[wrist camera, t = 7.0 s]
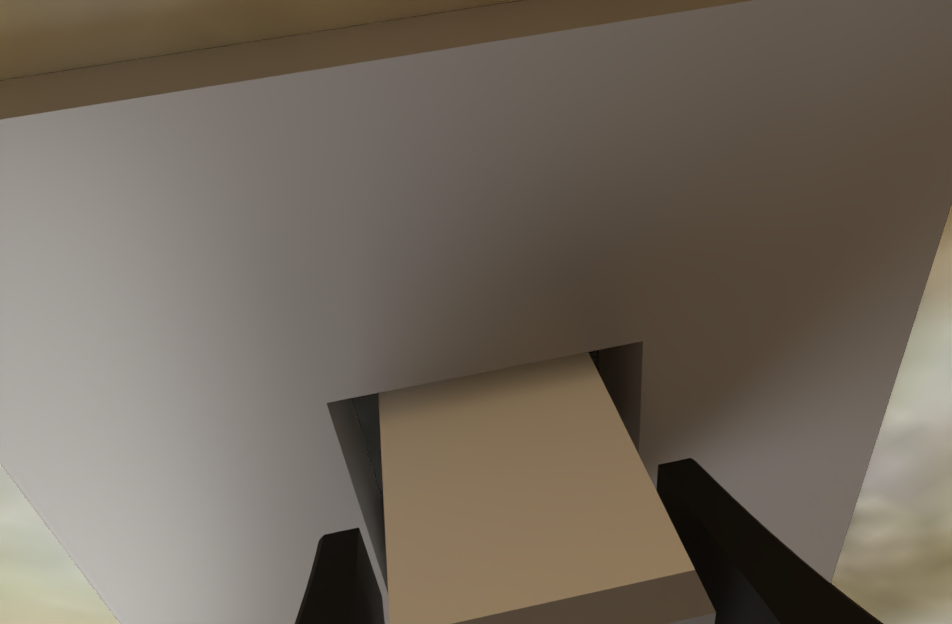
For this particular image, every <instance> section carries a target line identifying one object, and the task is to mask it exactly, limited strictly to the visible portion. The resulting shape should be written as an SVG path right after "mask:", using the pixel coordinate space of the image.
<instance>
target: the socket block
mask: <svg viewBox="0 0 952 624" xmlns="http://www.w3.org/2000/svg"><path fill="white" fill-rule="evenodd" d="M951 204H952V0H521V1H515V2H508V3H502V4H495V5H489V6H482V7H476V8H469V9H463V10H457V11H450V12H444V13H437V14H431V15H424V16H418V17H411V18H405V19H398V20H392V21H385V22H379V23H372V24H366V25H359V26H353V27H346V28H340V29H333V30H327V31H320V32H314V33H307V34H301V35H294V36H288V37H281V38H275V39H268V40H262V41H255V42H249V43H242V44H236V45H229V46H223V47H216V48H210V49H203V50H197V51H190V52H184V53H177V54H171V55H164V56H158V57H151V58H145V59H139V60H132V61H126V62H119V63H113V64H106V65H100V66H93V67H87V68H80V69H74V70H67V71H61V72H54V73H48V74H41V75H35V76H28V77H22V78H15V79H9V80H2V81H0V464H1V466H2V467H3V468H4V470H5V471H6V472H7V474H8V475H9V476H10V478H11V479H12V480H13V482H14V483H15V484H16V486H17V487H18V488H19V490H20V491H21V492H22V494H23V495H24V496H25V498H26V499H27V500H28V502H29V503H30V504H31V506H32V507H33V508H34V510H35V511H36V512H37V514H38V515H39V516H40V518H41V519H42V520H43V522H44V523H45V524H46V526H47V527H48V529H49V530H50V531H51V533H52V534H53V535H54V537H55V538H56V539H57V541H58V542H59V543H60V545H61V546H62V547H63V549H64V550H65V551H66V553H67V554H68V555H69V557H70V558H71V559H72V561H73V562H74V563H75V565H76V566H77V567H78V569H79V570H80V571H81V573H82V574H83V575H84V577H85V578H86V579H87V581H88V582H89V583H90V585H91V586H92V587H93V589H94V590H95V591H96V593H97V594H98V595H99V597H100V598H101V599H102V601H103V602H104V603H105V605H106V606H107V607H108V609H109V610H110V611H111V613H112V614H113V615H114V617H115V618H116V619H117V621H118V622H119V623H120V624H295V621H296V618H297V615H298V612H299V609H300V606H301V603H302V600H303V597H304V593H305V590H306V587H307V584H308V580H309V577H310V573H311V570H312V566H313V562H314V558H315V555H316V550H317V546H318V542H319V540H320V539H321V537H322V536H323V535H325V534H330V533H335V532H339V531H344V530H349V529H354V528H358V527H359V529H360V532H361V535H362V538H363V541H364V544H365V547H366V550H367V553H368V556H369V559H370V562H371V565H372V568H373V571H374V574H375V577H376V580H377V583H378V586H379V589H380V592H381V595H382V600H383V611H384V621H385V624H390V620H389V600H388V580H387V559H386V539H385V519H384V503H383V502H382V499H381V495H380V492H379V488H378V485H377V482H376V478H375V475H374V471H373V468H372V464H371V461H370V458H369V454H368V451H367V447H366V444H365V440H364V437H363V434H362V430H361V427H360V423H359V420H358V416H357V413H356V410H355V406H354V403H353V399H352V398H354V397H359V396H365V395H370V394H375V393H380V392H385V391H390V390H395V389H400V388H406V387H411V386H416V385H421V384H426V383H431V382H436V381H441V380H447V379H452V378H457V377H462V376H467V375H472V374H477V373H482V372H488V371H493V370H498V369H503V368H508V367H513V366H518V365H523V364H529V363H534V362H539V361H544V360H549V359H554V358H559V357H564V356H570V355H575V354H580V353H585V352H590V351H595V350H599V375H600V377H601V379H602V381H603V383H604V385H605V387H606V389H607V391H608V393H609V395H610V397H611V399H612V401H613V403H614V405H615V407H616V409H617V411H618V413H619V416H620V418H621V420H622V422H623V424H624V426H625V428H626V430H627V432H628V434H629V436H630V438H631V440H632V442H633V444H634V446H635V448H636V450H637V452H638V454H639V456H640V458H641V460H642V462H643V464H644V467H645V469H646V471H647V473H648V475H649V477H650V479H651V481H652V483H653V485H654V487H655V489H657V473H658V465H659V464H664V463H668V462H673V461H678V460H683V459H687V458H692V459H694V460H695V461H696V462H697V463H698V464H699V465H700V466H701V467H702V468H703V469H704V470H706V471H707V472H708V473H709V474H710V475H711V476H712V477H713V478H714V479H715V480H716V481H717V482H718V483H719V484H720V485H721V486H722V487H723V488H724V489H725V490H726V491H727V492H728V493H729V494H730V495H731V496H732V497H733V498H734V499H735V500H736V501H737V502H739V503H740V504H741V505H742V506H743V507H744V508H745V509H746V510H747V511H748V512H749V513H750V514H751V515H752V516H753V517H755V518H756V519H757V520H758V521H759V522H760V523H761V524H762V525H763V526H764V527H766V528H767V529H768V530H769V531H770V532H771V533H772V534H773V535H775V536H776V537H777V538H778V539H779V540H780V541H781V542H783V543H784V544H785V545H786V546H787V547H788V548H789V549H791V550H792V551H793V552H794V553H795V554H796V555H797V556H799V557H800V558H801V559H802V560H803V561H804V562H806V563H807V564H808V565H809V566H810V567H812V568H813V569H814V570H815V571H816V572H818V573H819V574H820V575H821V576H822V577H824V578H825V579H826V580H827V581H829V582H830V583H831V580H832V577H833V574H834V571H835V568H836V565H837V562H838V559H839V555H840V552H841V549H842V546H843V543H844V540H845V537H846V533H847V530H848V527H849V524H850V521H851V518H852V515H853V512H854V508H855V505H856V502H857V499H858V496H859V493H860V490H861V486H862V483H863V480H864V477H865V474H866V471H867V468H868V464H869V461H870V458H871V455H872V452H873V449H874V446H875V443H876V439H877V436H878V433H879V430H880V427H881V424H882V421H883V417H884V414H885V411H886V408H887V405H888V402H889V399H890V396H891V392H892V389H893V386H894V383H895V380H896V377H897V374H898V370H899V367H900V364H901V361H902V358H903V355H904V352H905V349H906V345H907V342H908V339H909V336H910V333H911V330H912V327H913V323H914V320H915V317H916V314H917V311H918V308H919V305H920V301H921V298H922V295H923V292H924V289H925V286H926V283H927V280H928V276H929V273H930V270H931V267H932V264H933V261H934V258H935V254H936V251H937V248H938V245H939V242H940V239H941V236H942V233H943V229H944V226H945V223H946V220H947V217H948V214H949V211H950V207H951Z"/></svg>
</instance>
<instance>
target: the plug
mask: <svg viewBox="0 0 952 624" xmlns="http://www.w3.org/2000/svg"><path fill="white" fill-rule="evenodd" d="M378 396H379V417H380V437H381V458H382V478H383V498H384V519H385V539H386V559H387V580H388V600H389V620H390V624H715V617H716V611H715V609H714V607H713V605H712V603H711V601H710V599H709V597H708V595H707V593H706V591H705V589H704V587H703V585H702V583H701V581H700V579H699V577H698V575H697V573H696V571H695V569H694V566H693V564H692V562H691V560H690V558H689V556H688V554H687V552H686V550H685V548H684V546H683V544H682V542H681V540H680V538H679V536H678V534H677V532H676V530H675V528H674V526H673V524H672V522H671V520H670V518H669V515H668V513H667V511H666V509H665V507H664V505H663V503H662V501H661V499H660V497H659V495H658V493H657V491H656V489H655V487H654V485H653V483H652V481H651V479H650V477H649V475H648V473H647V471H646V469H645V467H644V464H643V462H642V460H641V458H640V456H639V454H638V452H637V450H636V448H635V446H634V444H633V442H632V440H631V438H630V436H629V434H628V432H627V430H626V428H625V426H624V424H623V422H622V420H621V418H620V416H619V413H618V411H617V409H616V407H615V405H614V403H613V401H612V399H611V397H610V395H609V393H608V391H607V389H606V387H605V385H604V383H603V381H602V379H601V377H600V375H599V373H598V371H597V369H596V367H595V365H594V362H593V360H592V358H591V356H590V354H589V352H585V353H580V354H575V355H570V356H564V357H559V358H554V359H549V360H544V361H539V362H534V363H529V364H523V365H518V366H513V367H508V368H503V369H498V370H493V371H488V372H482V373H477V374H472V375H467V376H462V377H457V378H452V379H447V380H441V381H436V382H431V383H426V384H421V385H416V386H411V387H406V388H400V389H395V390H390V391H385V392H380V393H378Z"/></svg>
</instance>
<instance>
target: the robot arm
mask: <svg viewBox="0 0 952 624" xmlns="http://www.w3.org/2000/svg"><path fill="white" fill-rule="evenodd" d="M656 491H657V493H658V495H659V497H660V499H661V501H662V503H663V505H664V507H665V509H666V511H667V513H668V515H669V518H670V520H671V522H672V524H673V526H674V528H675V530H676V532H677V534H678V536H679V538H680V540H681V542H682V544H683V546H684V548H685V550H686V552H687V554H688V556H689V558H690V560H691V562H692V564H693V566H694V569H695V571H696V573H697V575H698V577H699V579H700V581H701V583H702V585H703V587H704V589H705V591H706V593H707V595H708V597H709V599H710V601H711V603H712V605H713V607H714V609H715V611H716V617H715V624H883V623H882V622H880V621H879V620H878V619H876V618H875V617H874V616H872V615H871V614H869V613H868V612H867V611H866V610H864V609H863V608H862V607H860V606H859V605H858V604H856V603H855V602H854V601H852V600H851V599H850V598H849V597H847V596H846V595H845V594H844V593H842V592H841V591H840V590H839V589H837V588H836V587H835V586H834V585H832V584H831V583H830V582H829V581H827V580H826V579H825V578H824V577H822V576H821V575H820V574H819V573H818V572H816V571H815V570H814V569H813V568H812V567H810V566H809V565H808V564H807V563H806V562H804V561H803V560H802V559H801V558H800V557H799V556H797V555H796V554H795V553H794V552H793V551H792V550H791V549H789V548H788V547H787V546H786V545H785V544H784V543H783V542H781V541H780V540H779V539H778V538H777V537H776V536H775V535H773V534H772V533H771V532H770V531H769V530H768V529H767V528H766V527H764V526H763V525H762V524H761V523H760V522H759V521H758V520H757V519H756V518H755V517H753V516H752V515H751V514H750V513H749V512H748V511H747V510H746V509H745V508H744V507H743V506H742V505H741V504H740V503H739V502H737V501H736V500H735V499H734V498H733V497H732V496H731V495H730V494H729V493H728V492H727V491H726V490H725V489H724V488H723V487H722V486H721V485H720V484H719V483H718V482H717V481H716V480H715V479H714V478H713V477H712V476H711V475H710V474H709V473H708V472H707V471H706V470H704V469H703V468H702V467H701V466H700V465H699V464H698V463H697V462H696V461H695V460H694V459H692V458H687V459H683V460H678V461H673V462H668V463H664V464H659V465H658V473H657V489H656ZM295 624H385V621H384V611H383V600H382V595H381V592H380V589H379V586H378V583H377V580H376V577H375V574H374V571H373V568H372V565H371V562H370V559H369V556H368V553H367V550H366V547H365V544H364V541H363V538H362V535H361V532H360V529H359V527H358V528H354V529H349V530H344V531H339V532H335V533H330V534H325V535H323V536H322V537H321V539H320V540H319V542H318V546H317V550H316V555H315V558H314V562H313V566H312V570H311V573H310V577H309V580H308V584H307V587H306V590H305V593H304V597H303V600H302V603H301V606H300V609H299V612H298V615H297V618H296V621H295Z"/></svg>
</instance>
